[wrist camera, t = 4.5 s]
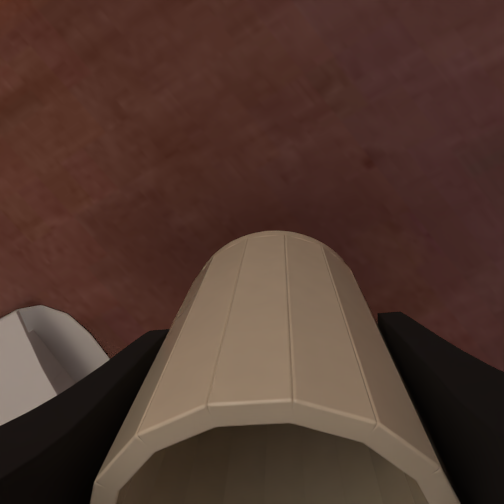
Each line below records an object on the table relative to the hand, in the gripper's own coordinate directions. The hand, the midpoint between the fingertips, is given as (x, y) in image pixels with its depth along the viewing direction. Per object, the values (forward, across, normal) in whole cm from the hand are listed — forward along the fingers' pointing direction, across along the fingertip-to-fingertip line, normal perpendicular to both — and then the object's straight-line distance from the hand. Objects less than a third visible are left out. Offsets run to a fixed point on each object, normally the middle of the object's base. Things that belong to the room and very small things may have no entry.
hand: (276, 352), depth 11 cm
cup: (+2, 0, 0) cm, 2 cm away
